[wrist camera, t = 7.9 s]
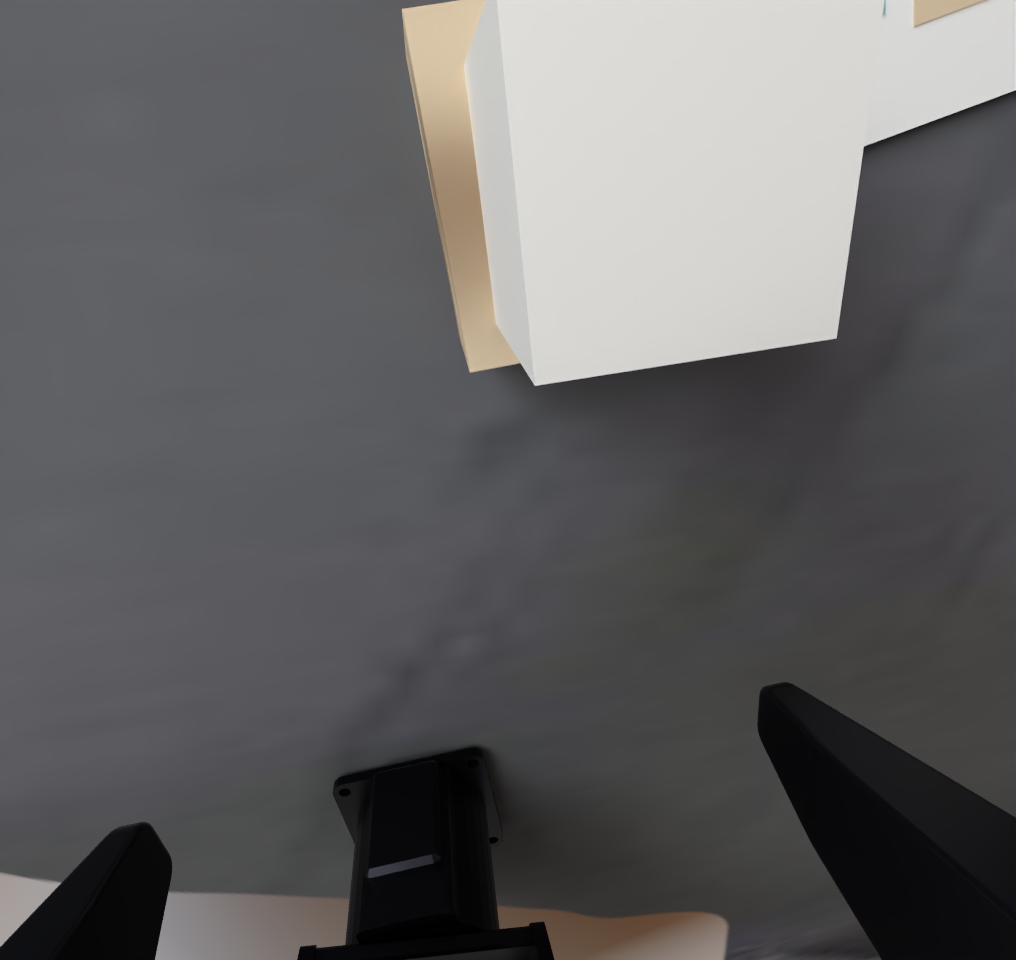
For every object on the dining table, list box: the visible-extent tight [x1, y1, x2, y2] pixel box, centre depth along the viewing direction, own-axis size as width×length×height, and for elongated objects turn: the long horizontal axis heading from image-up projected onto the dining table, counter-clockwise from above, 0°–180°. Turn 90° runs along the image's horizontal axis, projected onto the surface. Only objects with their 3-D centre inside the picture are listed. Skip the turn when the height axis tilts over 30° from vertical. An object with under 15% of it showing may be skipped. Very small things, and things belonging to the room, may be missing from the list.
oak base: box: [402, 0, 520, 373], centre depth 14 cm, size 7×7×4 cm
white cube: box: [464, 0, 885, 386], centre depth 10 cm, size 5×5×5 cm
